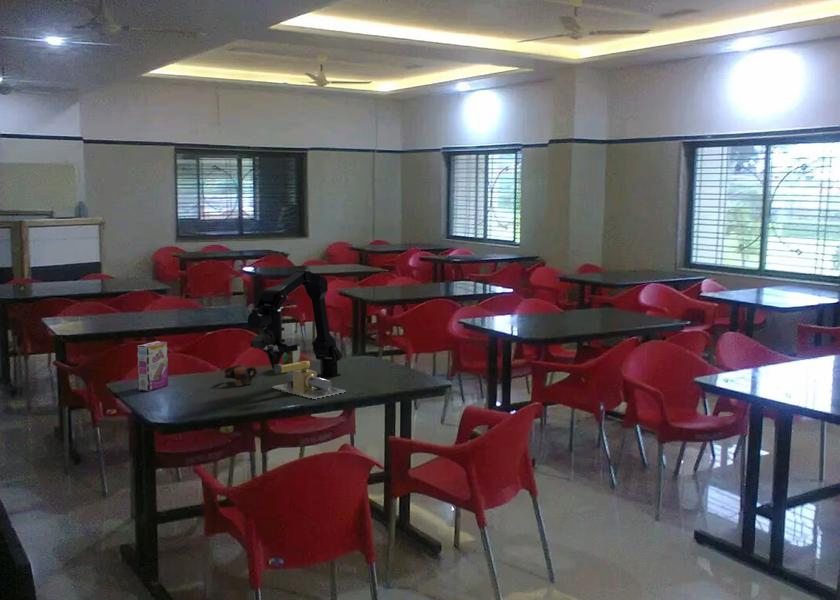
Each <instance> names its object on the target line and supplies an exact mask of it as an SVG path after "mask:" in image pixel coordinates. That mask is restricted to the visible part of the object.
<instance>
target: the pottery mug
mask: <svg viewBox="0 0 840 600" xmlns="http://www.w3.org/2000/svg"><path fill="white" fill-rule="evenodd" d="M251 372H253V373H252V374H251ZM224 373H225V374H224V379H232V380H235V381H234V383H235V386H236V387H237V386H239V387H241V386H247V385H248V384H250V385H251V382H252V381H253V379H254V378H256V377H257V375H258V369H257V368H256V367H254V366H250V367H245V366H244V364H243V363H242V364H236V365H233V366H230V367H228V368H226V369H225V370H224ZM236 380H237V381H236Z"/></svg>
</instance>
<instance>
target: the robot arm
mask: <svg viewBox="0 0 840 600" xmlns="http://www.w3.org/2000/svg"><path fill="white" fill-rule="evenodd" d="M300 286H303V287H304V290H305V294H306V295H307V297H309V299H310V300H311V306H312V313H313V318H314V325H315V327H314V328H315V334H316V336H315V339H314V340H312V344H311V345H312V348H313V349H312V351H313V352H314V355H315V359H316V360H319V361H320V362H319V363H320V364H319V365H320V372H319V373H317V376H320V377H324V378H332V377H336V375H337V376H340V375H341V373H340V372H338V370H339V369H338V361H340V360H342V356H343V355H342V353H341V351H340V349H339V348H338V347H337V343H336V340H335V339H334V337H333V335H332V334H331V333H330V327H329V319H328V313H327V307H326V306H327V305H326V295H327V293H328V289H329V288H328V279H327V278H326V277H325V276H324V275H318V274H316V273H313V272H311V271H310V270H308V269H298V270H295V273H293V274H291V276H288V277H287V278H286V279H285V280H283V281H282V282H280V283H279V284H278V285H275V286H270V287H267V288H265V289H263V290H262V291H261V294H260V297H259V300H258V302H257V304H256V306H255V308H252V309H251V313H250V314H249V315H248V317H247V324H248V327H250V328H251V329H252V330H257V329H261V333H260V334H258V335H256V336H254V337H253V338H252V339H251V341H250V347H251V348H253V349H259V350H261V351H262V352H263V353H265V355H267V358H268V359H269V363H270V365H271V369H272V370H274V365H275V364H280V361H281V359H282V358H283V354H284V353H287V352H292V351H297V350H298V345H297V343H295V342H296V341H286V339H285V338H283V331H285V327H283V325H282V319H283V318H282V312H285V311H286V309H285V308H284V307H283V306H282V305H283V304H284V303H285V302H286V301H287V299H288V296H289V295H290V294H291V293H293V292H294V291H295V290H296V289H298V288H299V287H300ZM331 376H332V377H331Z"/></svg>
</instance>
